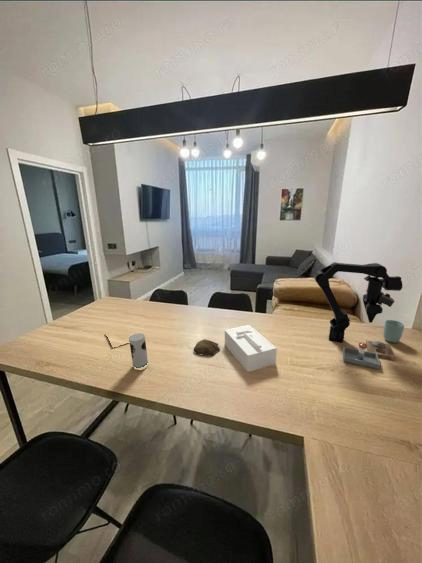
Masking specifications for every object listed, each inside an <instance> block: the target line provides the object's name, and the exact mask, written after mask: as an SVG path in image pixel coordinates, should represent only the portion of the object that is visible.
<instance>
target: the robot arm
mask: <svg viewBox="0 0 422 563" xmlns="http://www.w3.org/2000/svg"><path fill="white" fill-rule="evenodd" d="M338 272H340V273H351V274H353V273H354V274H362V275H367V276H365V277H364V278H363V280H365V281H366V282H368V283H367V288H366V290H365V291H366V293H365V294H363V295H362V302H363V306H364V310H365V313H366V315H367V318H368V323H373V321H374V319H375V318H376V316H377V315H379V314H383V307H382V306H381V304H383V305H386V306H387V307H390V308H391V307H392V306H393V304H394V303H395V300H394V299H393V297H391V295H390V293H387V292H386V293H384V294H383V293H382V288H383V289H384V291H393V292H394V291H395V292H396V291H397V292H400V291H401V290H402V289H403V282H402V277H401V276H399V275H397V276H396V275H395V276H390V275H389V274H388V273H387V272H388V270H387V267H386V266H385V265H384V266H383V265H382V264H380V263H377V262H376V263H375V262H374V263H373V262H372V263H366V264H359V263H358V264H356V263H355V264H354V263H342V262H336V261H334V262H332V263H331V264H329V265H327V266H325V267H323V268H322V269H320V270H317V271H315V272H314V274H313V279H314V282H316V283H317V285H318V286H319V287H320V289H321V290H322V292H323V293H324V297H325V298H326V300H327V302H328V304H329V306H330V309H331V310H332V313H333V314H332V315H333V318H332V319H331V320H329V324H330V327H329V334H328V340H329V341H332V342H338V343H343V341H344V340H345V331H346V329H347V328H349V326H351V319H350V318H349V316H348V313H347V312H346V310H345V309H343V310H342V309H341V308H340V305H339V304H338V302H337V300H336V297H335V295H334V293H333V291H332V289H331V286H330V282H329V281H330V279H331V278H333V276H335V274H336V273H338Z"/></svg>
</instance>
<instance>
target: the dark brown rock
mask: <svg viewBox="0 0 422 563" xmlns="http://www.w3.org/2000/svg"><path fill="white" fill-rule="evenodd" d="M220 350H221V349H220V347H219V343H217V342H215V341H213V340H209V339H205V338H203V339H202V340H199V341H198V342H196V344H195V346H194V347H193V353H195V354H197V355H200V354H202V355H201V356H208V355H211V356H214V355H216V353H217V352H220Z"/></svg>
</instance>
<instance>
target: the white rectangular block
mask: <svg viewBox="0 0 422 563" xmlns="http://www.w3.org/2000/svg"><path fill="white" fill-rule="evenodd" d="M224 345H225V346H226V347H227V348H228V350H229V351H230V352H231V354H234V355H233V356H234V357H235V358H236V360H239V361H238V362H239V363H240V364H241V366H242V365H243V366H244V367H245V368H244V367H243V366H242V367H243V368H244V369H245V370H246V372H247V371H250V372H253V371H256V370H255V369H257V370H259V368H260V369H264V368H267V367H266V366H268V367H270V365H271V366H275V365H276V364H277V347H276V346H275V345H273V343H272V342H270V341H269V340H268V339H266V338H265V336H263V335H262V334H261V333H259V332H258V331H257V329H255V328H253V327H252V326H251V325H250V324H246V325H241V326H236V327H233V328H227V329H224ZM274 364H275V365H274ZM263 367H264V368H263ZM252 370H253V371H252Z"/></svg>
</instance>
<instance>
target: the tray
mask: <svg viewBox="0 0 422 563" xmlns="http://www.w3.org/2000/svg"><path fill="white" fill-rule="evenodd" d="M342 348H343V349H342V359H343V360H342V361H343V363H346V364H348V365H349V364H350V365H355V366H358V367H364V368H370V369H373V370H378V371H380V369H381V368H380V367H381V363H380V360H379V357H378V355H377V353H373V352H368V350H365V354H364V359H363V360H358V359H357V356H358V351H359V349H357V348H351V347H347V346H343V347H342Z"/></svg>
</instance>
